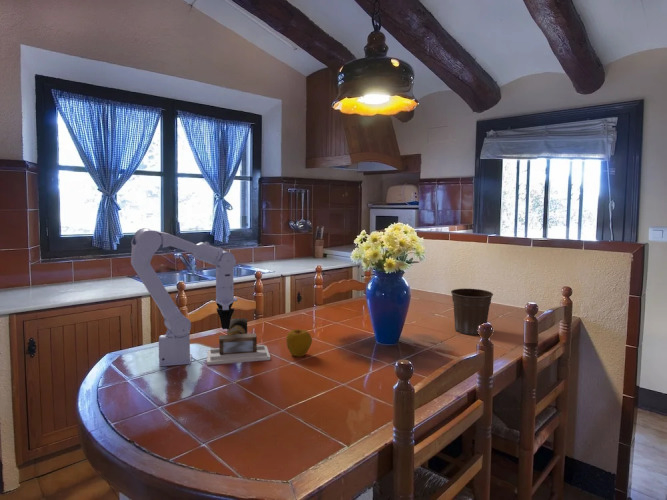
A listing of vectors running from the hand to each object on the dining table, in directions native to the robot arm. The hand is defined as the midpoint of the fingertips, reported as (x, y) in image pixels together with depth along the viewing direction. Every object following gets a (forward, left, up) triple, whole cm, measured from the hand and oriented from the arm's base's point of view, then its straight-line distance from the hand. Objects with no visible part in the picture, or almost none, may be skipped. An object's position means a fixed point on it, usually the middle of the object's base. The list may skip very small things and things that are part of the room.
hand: (225, 325), depth 152 cm
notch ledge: (+4, -5, -9) cm, 11 cm away
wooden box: (+4, -5, -8) cm, 11 cm away
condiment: (+5, +12, -5) cm, 13 cm away
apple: (+24, -8, -10) cm, 27 cm away
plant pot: (+97, +4, -10) cm, 98 cm away
